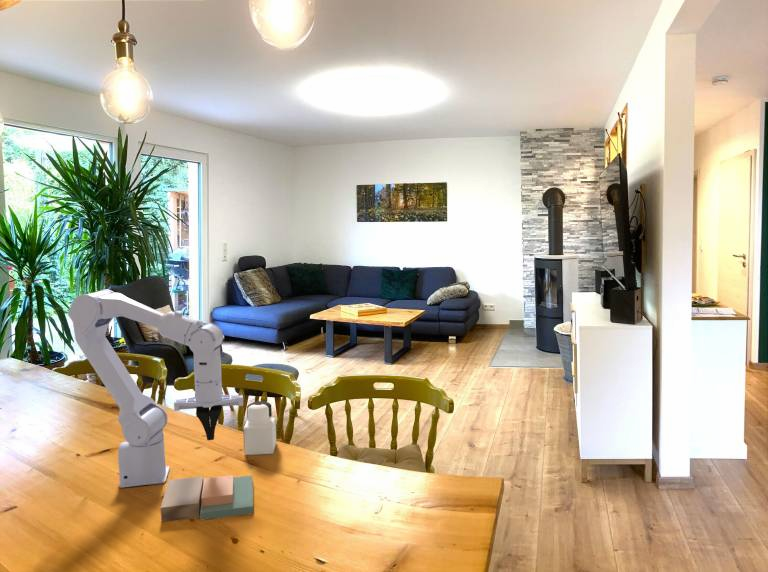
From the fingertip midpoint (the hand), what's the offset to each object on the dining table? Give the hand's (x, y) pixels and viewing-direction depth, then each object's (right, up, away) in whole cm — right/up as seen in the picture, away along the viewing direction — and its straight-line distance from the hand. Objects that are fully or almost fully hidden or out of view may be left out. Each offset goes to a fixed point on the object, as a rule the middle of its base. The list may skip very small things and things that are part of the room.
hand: (210, 438), depth 127 cm
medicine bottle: (+7, -8, +17) cm, 20 cm away
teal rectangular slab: (+6, -10, -9) cm, 15 cm away
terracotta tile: (+4, -9, -9) cm, 14 cm away
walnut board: (-2, -11, -11) cm, 15 cm away
